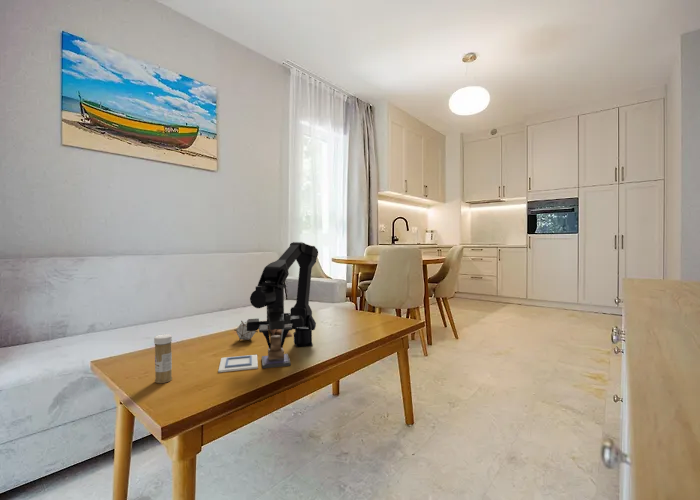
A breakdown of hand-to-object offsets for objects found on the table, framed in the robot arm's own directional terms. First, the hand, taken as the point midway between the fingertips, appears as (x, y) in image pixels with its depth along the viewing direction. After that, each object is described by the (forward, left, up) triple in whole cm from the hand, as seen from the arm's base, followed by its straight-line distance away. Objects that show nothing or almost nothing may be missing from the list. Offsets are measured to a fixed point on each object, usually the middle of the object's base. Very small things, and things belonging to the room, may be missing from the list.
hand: (275, 348), depth 116 cm
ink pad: (0, 0, -5) cm, 5 cm away
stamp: (0, 0, -4) cm, 4 cm away
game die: (+10, -29, -5) cm, 31 cm away
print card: (+12, -2, -5) cm, 13 cm away
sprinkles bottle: (+33, +6, -5) cm, 34 cm away
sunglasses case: (-4, -37, -6) cm, 38 cm away
